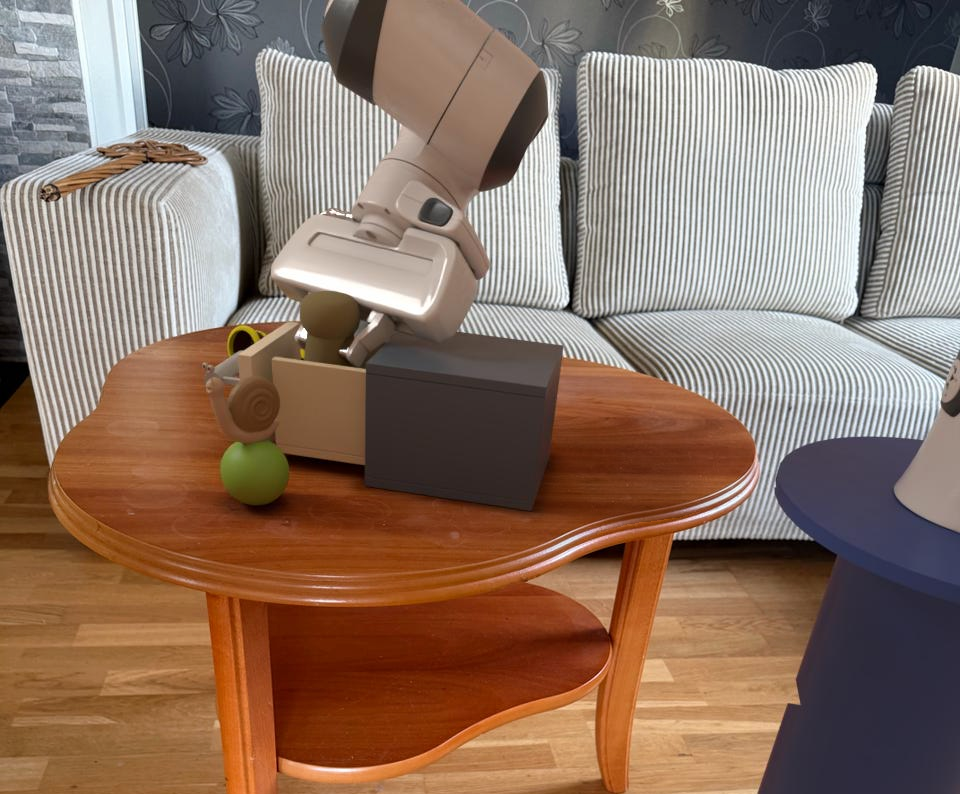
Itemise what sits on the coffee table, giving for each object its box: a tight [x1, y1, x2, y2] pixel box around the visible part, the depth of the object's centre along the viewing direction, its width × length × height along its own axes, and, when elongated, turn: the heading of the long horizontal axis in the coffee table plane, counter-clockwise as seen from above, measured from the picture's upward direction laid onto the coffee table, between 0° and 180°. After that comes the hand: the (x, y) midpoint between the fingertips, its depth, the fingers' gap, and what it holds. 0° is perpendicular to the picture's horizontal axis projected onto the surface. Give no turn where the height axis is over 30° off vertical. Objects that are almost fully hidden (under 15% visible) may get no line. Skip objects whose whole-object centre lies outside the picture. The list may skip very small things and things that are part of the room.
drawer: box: [203, 321, 389, 466], centre depth 82 cm, size 18×12×9 cm, turn 79°
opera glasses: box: [226, 324, 305, 359], centre depth 100 cm, size 10×5×5 cm, turn 40°
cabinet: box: [364, 331, 564, 512], centre depth 80 cm, size 15×13×11 cm
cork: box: [299, 291, 360, 368], centre depth 80 cm, size 6×6×11 cm
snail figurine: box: [201, 361, 290, 506], centre depth 71 cm, size 5×6×12 cm
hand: (325, 354), depth 79 cm, fingers closed on cork, 4 cm apart
